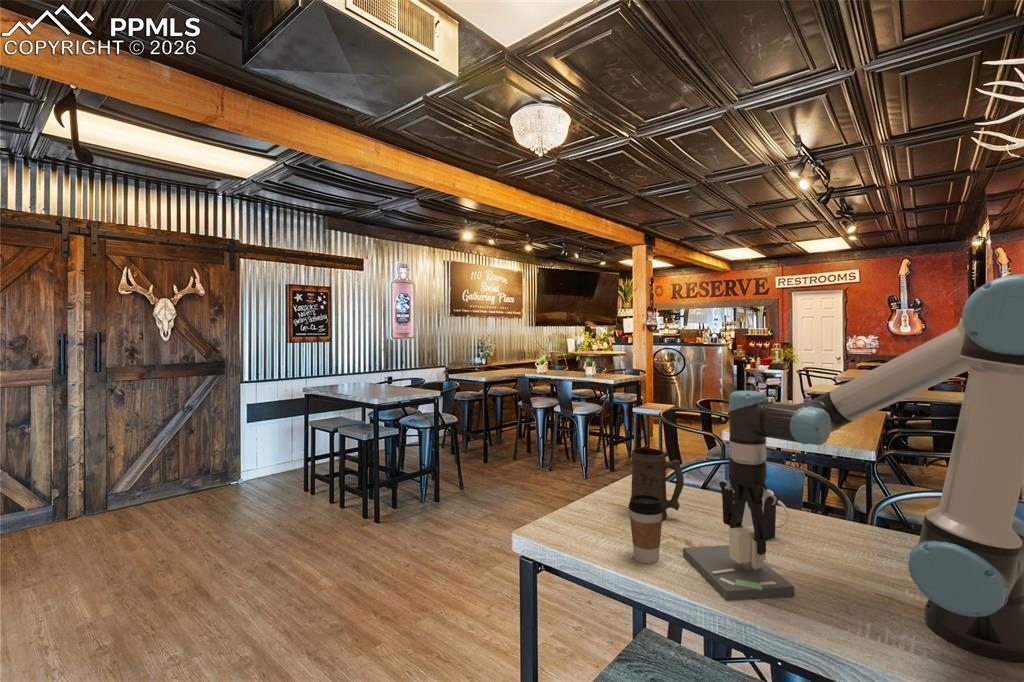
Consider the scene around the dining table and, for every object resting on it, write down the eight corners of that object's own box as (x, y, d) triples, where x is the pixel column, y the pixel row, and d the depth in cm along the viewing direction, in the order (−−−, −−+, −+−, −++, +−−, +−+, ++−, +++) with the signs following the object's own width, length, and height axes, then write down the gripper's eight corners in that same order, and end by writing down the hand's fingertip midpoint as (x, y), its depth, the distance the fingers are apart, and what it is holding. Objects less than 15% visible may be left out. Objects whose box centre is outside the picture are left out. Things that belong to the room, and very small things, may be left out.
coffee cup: (639, 568, 114) (639, 505, 114) (622, 552, 122) (622, 494, 122) (671, 563, 116) (670, 502, 116) (651, 548, 125) (651, 490, 124)
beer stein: (626, 520, 143) (630, 453, 142) (628, 506, 153) (632, 444, 152) (681, 529, 138) (686, 460, 137) (679, 515, 149) (684, 451, 148)
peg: (765, 570, 109) (765, 530, 108) (717, 578, 106) (717, 537, 105) (755, 563, 112) (755, 525, 111) (708, 571, 109) (708, 531, 108)
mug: (791, 537, 130) (791, 492, 130) (783, 548, 124) (784, 501, 123) (744, 525, 138) (744, 483, 138) (735, 535, 132) (735, 491, 131)
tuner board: (795, 596, 102) (795, 587, 101) (727, 601, 100) (727, 591, 100) (740, 552, 122) (740, 544, 122) (683, 555, 120) (683, 547, 120)
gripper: (794, 466, 103) (795, 575, 103) (726, 449, 118) (727, 544, 119) (772, 472, 99) (772, 584, 100) (705, 453, 115) (705, 551, 115)
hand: (748, 562), depth 109 cm, fingers closed on peg, 4 cm apart
